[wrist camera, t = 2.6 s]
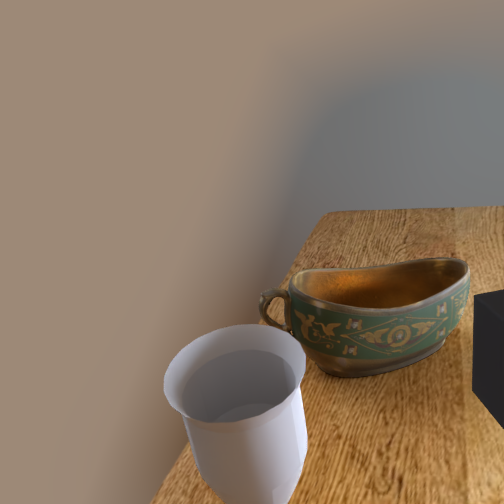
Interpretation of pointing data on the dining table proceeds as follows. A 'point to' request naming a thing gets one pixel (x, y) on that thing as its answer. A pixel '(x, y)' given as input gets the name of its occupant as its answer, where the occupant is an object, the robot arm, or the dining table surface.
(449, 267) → the cup
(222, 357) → the chalice
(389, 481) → the dining table surface
